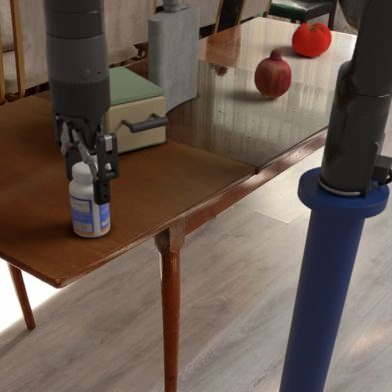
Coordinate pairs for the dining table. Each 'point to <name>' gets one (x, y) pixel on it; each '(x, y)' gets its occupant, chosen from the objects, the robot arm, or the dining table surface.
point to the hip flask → (174, 51)
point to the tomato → (311, 39)
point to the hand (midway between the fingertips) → (88, 191)
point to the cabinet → (130, 91)
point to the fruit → (273, 75)
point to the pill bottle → (86, 204)
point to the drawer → (137, 122)
